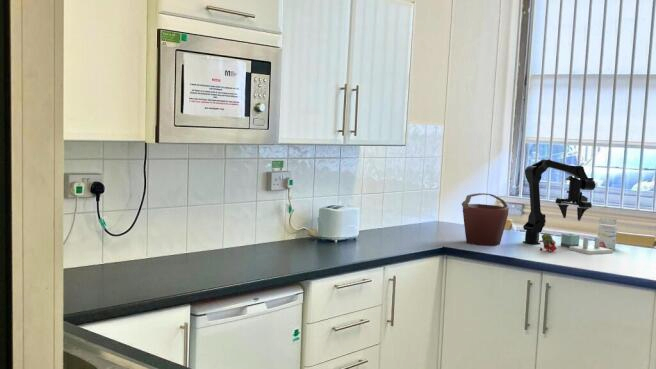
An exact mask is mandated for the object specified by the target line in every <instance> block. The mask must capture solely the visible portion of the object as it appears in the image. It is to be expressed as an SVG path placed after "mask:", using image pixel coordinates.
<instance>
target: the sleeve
mask: <svg viewBox="0 0 656 369" xmlns="http://www.w3.org/2000/svg"><path fill="white" fill-rule="evenodd" d="M560 246H561V247H565V248H569V247H571V246H580V234H579V235H578V234H575V233H561V237H560Z"/></svg>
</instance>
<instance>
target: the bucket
mask: <svg viewBox="0 0 656 369" xmlns="http://www.w3.org/2000/svg"><path fill="white" fill-rule="evenodd" d="M482 195H483V196H490V197H493V198H495V199H496V200H498V201H500V203H501V204H502V206H500V205H495V204H482V203H481V204H480V203H470V202H471V199H472V198H473V197H476V196H482ZM461 207H462V215H463V216H462V217H463V226H464V233H465V242H466V244H469V245H473V246H474V245H475V246H478V247H481V246H482V247H496V246H499V245H501V241H502V239H503V235H504V231H505V227H506V224H507V220H508V217H509V208H508V204H507V203H506V201H505V200H504V199H502V198H500V197H499V196H496V195H494V194H492V193H485V192H484V193H481V192H480V193H471V194H468V195H466V197H465V200H464V201H463V202H461Z"/></svg>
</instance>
